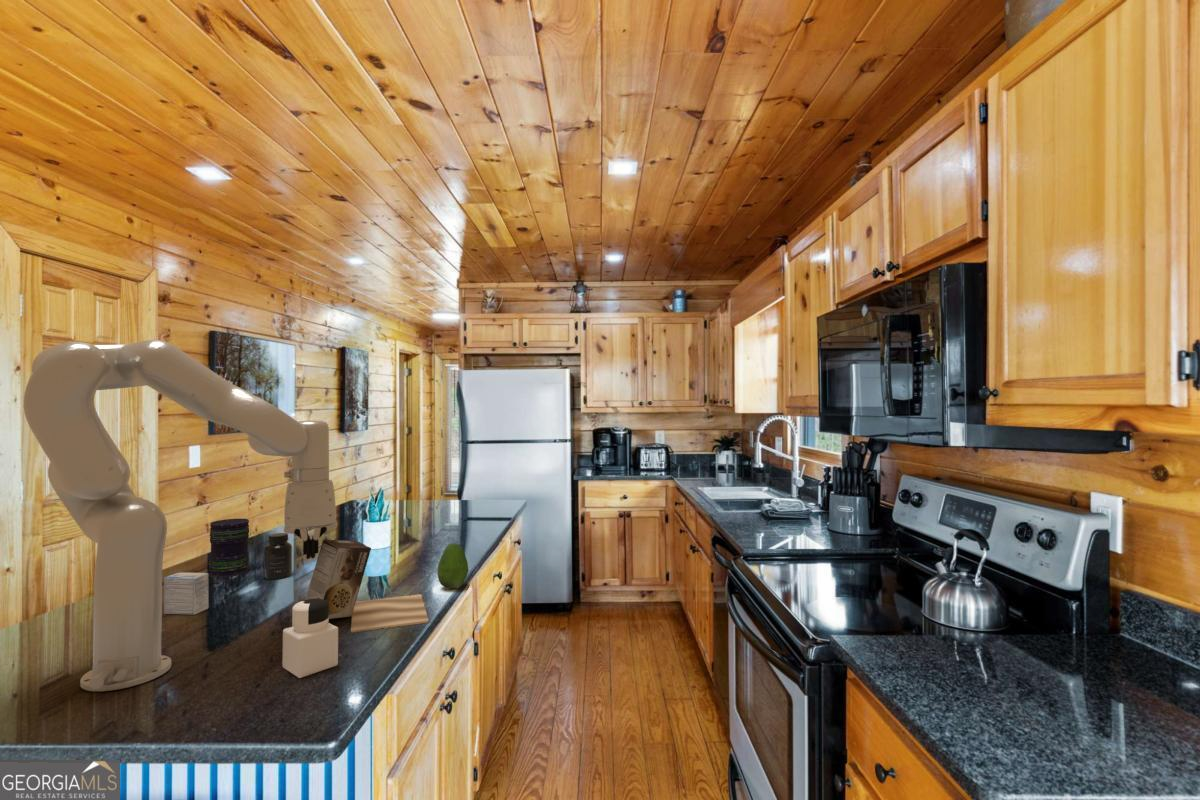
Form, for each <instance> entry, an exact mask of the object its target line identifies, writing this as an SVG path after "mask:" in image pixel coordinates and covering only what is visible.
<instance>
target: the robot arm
mask: <svg viewBox="0 0 1200 800" xmlns="http://www.w3.org/2000/svg"><path fill="white" fill-rule="evenodd" d="M31 364H32V365H31V376H30V377H29V378H28V381H27V384H26V387H25V391H24V396H23V411H24V416H25V418H26V422H27V424H28V427H29V428H30V431H31V432H32V433H33V435H34V436H35V439H36V440H37V442H38V443H39V445H40V447H41V449H42V451H43V453H44V454H45V455H46V457H47V459H48V460H49V462H50V463H49V464H48V468H47V477H48V479H49V482H50V485H51V487H52V489H53V490H54V493H55V494H56V495H57V497H58V498H59V499H60V501H61V502H62V504H63V505H64V507H65V509H66V510H67V511H68V512H69V514H70V516H71V518H73V520H74V521H75V522H76V524H77V526H78V527H79V529H80V530H81V531H82V533H83V534H84V535H85V536H86V538H88V539H89V540H91V542H94V543H96V544H97V551H96V557H95V558H96V559H95V564H94V574H93V622H92V623H93V628H92V629H93V631H92V632H93V633H92V634H93V635H92V636H93V637H92V638H93V639H92V669H91V670H89V671H88V672H86V673H84V674H83V676H81V678H80V682H79V687H80V688H81V689H83V690H84V691H88V692H109V691H116V690H122V689H127V688H131V687H134V686H138V685H142V684H144V683H147V682H150V681H152V680H155V679H157V678H159V677H160V676H162V675H164V674H166V673H167V672H168V671H170V669H171V667H172V658H171V657H169V656H167V655H163V654H162V621H163V619H162V614H163V610H162V609H163V608H162V607H163V560H164V552H165V545H166V539H167V532H168V530H167V529H168V524H167V520H166V519H167V518H166V516H165V513H164V512H163V510H162V509H161V508H160V507H159V506H158V505H157V504H156V503H154V502H152V501H150V500H148V499H145V498H140V497H137V496H136V495H135V493H134V491H133V489H132V487H131V486H130V485H129V482H130V478H131V470H130V465H129V463H128V461H127V459H126V458H125V457H124V455H123V453H122V452H121V451H120V450H119V448H118V447H117V445H116V444H115V442H114V440H113V438H112V437H111V435H110V434H109V433H108V431H107V430H106V427H105V426H104V424H103V422H102V420H101V418H100V416H99V415H98V412H97V410H96V407H95V396H96V392H97V391H104V390H105V391H106V390H116V389H126V388H137V387H144V386H145V387H146V386H147V387H149V388H151V389H153V390H155V391H156V392H157V393H159V394H160V395H162V396H165V397H166V398H168V399H169V400H171V401H173V402H175V403H176V404H177V405H179V406H181V407H182V408H185V410H187V411H188V412H190V413H193V414H194V415H196V416H197V417H200V418H201V419H203V420H207V421H209V422H212V423H215V424H219V425H221V426H227V427H229V428H232V429H234V430H237V431H240V432H241V433H243V434H246V435H247V436H248V437H247V439H248V441H247V442H248V445H249V446H250V447H251V449H252V450H253V451H255V452H256V453H258V454H260V455H264V456H271V457H272V456H273V457H284V458H285V457H287V458H288V457H289V458H290V457H291V469H290V470H288V471H284V474H283V475H284V478H286V479H287V478H288V479H290V481H289V482H288V483H287V485H286V486H287V487H286V489H285V490H286V491H285V501H284V512H283V514H284V520H283V521H284V522H283V523H284V528H283V533H287V534H291V535H292V534H293V535H296V536H297V537H298V538H299V539H300V540H301V541H302V542H303V543H302V545H303V547H302V549H303V551H302V553H303V555H304V556H305V555H306V557H305V558H306V560H309V559H315V558H316V554H319V552H320V549H319V543H320V541H319V539H320V538H321V537H322V536H323V535H324V534H325V533H326V532H329V531H333V530H336V529H337V528H338V524H337V520H336V515H337V514H336V512H337V511H336V510H337V508H336V496H335V495H336V494H335V488H334V487H335V486H334V482H333V480H332V479H330V431H329V430H330V428H329V424H328V422H326V421H323V420H299V421H298V420H297V419H294V418H293V417H291V416H290V415H289V414H288V413H286V412H284V411H283V410H281V409H279V407H277V406H276V405H274V404H272V403H270V402H268V401H266V400H265V399H262V397H261V398H260V397H258V396H256V395H255V394H253V393H251V392H249V391H248V390H245V389H244V388H242V387H239V386H237V385H235V384H233V382H232V383H231V382H230V381H228V380H227V379H225V378H224V377H222V376H220V375H219V374H218V373H216V372H214V371H213V370H211V369H210V368H209V367H207V366H206V365H204V364H203V363H201V362H200V361H198V360H196V359H195V358H194V357H192V356H191V355H189V354H188V353H186V352H184V351H183V350H181V348H178V347H177V346H175V345H174V344H173V343H170V342H168V341H165V340H161V339H147V340H142V341H137V342H130V343H117V344H92V343H88V342H85V341H68V342H67V341H66V342H62V343H58V344H56V345H53V346H50V347H47V348H45V349H44V350H42V351H40V352H39V353H38V354H37V355H36V356H35V357H34V359H33V361H32V363H31ZM308 528H314V531H313V535H312V536H310V535H309V530H308ZM310 537H311V538H310Z"/></svg>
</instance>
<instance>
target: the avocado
mask: <svg viewBox="0 0 1200 800" xmlns="http://www.w3.org/2000/svg"><path fill="white" fill-rule="evenodd" d="M436 572H437V573H436V574H437V578H438V581H439V583H440V585H441V586H442V587H444V588H445V589H447V588H450V589H449V590H453V589H457V588H459V587H461V586H462V585H463V584H464V582H465V581H466V579H467V576H468V573H469V563H468V559H467V557H466V554H465V551H464V549H463V547H462V546H461V545H460V544H458V543H454V542H453V543H449V544H448V545H446V548H445V549H444V550H443V553H442V555H441V558H440V559H439V562H438V566H437V571H436Z"/></svg>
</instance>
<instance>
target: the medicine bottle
mask: <svg viewBox="0 0 1200 800" xmlns="http://www.w3.org/2000/svg"><path fill="white" fill-rule="evenodd" d="M291 611H292V618H291V619H292V626H290V627H286V628H284V629H283V630H282V668H283V669H284V670H286V671H287V672H289V673H291V674H292V675H294V676H296V677H297V678H298V679H301V678H304V677H307V676H311V675H313V674H316V673H319V672H322V671H324V670H327V669H330V668H333V667H336V666H338V665H339V627H338V626H336V625H333V624H331V623H330V621H329V620H330V619H329V603H328V601H326V600H324V599H319V598H314V599H307V600H305V599H304V600H301V601H298V602H297V603H295V604H294V605H293V606H292V610H291Z"/></svg>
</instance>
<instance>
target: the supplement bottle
mask: <svg viewBox="0 0 1200 800" xmlns="http://www.w3.org/2000/svg"><path fill="white" fill-rule="evenodd" d="M288 541H289V533H285V532H277V533H272V534H269V536H268V544H267V545H266V547H265V548H264V577H265V578H266V579H267V580H280V579H286V578H288V577H290V576H292V574H293V545H292V544H291V543H290V542H288Z"/></svg>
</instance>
